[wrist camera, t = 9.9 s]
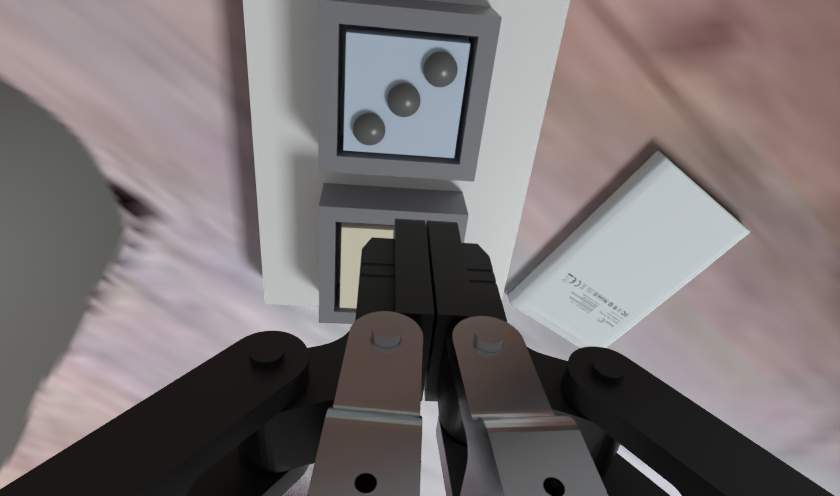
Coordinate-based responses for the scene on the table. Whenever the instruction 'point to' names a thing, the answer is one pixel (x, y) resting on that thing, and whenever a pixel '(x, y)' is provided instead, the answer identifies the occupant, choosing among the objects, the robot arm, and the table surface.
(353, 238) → the button one
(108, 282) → the table surface
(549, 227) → the table surface
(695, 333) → the table surface
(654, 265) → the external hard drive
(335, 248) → the button panel
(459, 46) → the button three
